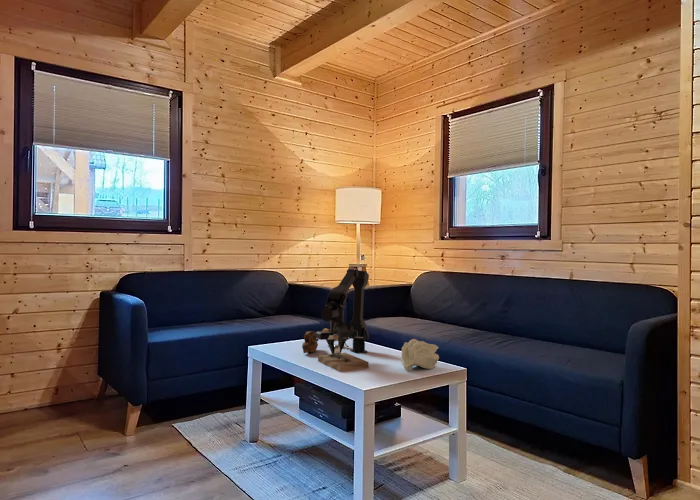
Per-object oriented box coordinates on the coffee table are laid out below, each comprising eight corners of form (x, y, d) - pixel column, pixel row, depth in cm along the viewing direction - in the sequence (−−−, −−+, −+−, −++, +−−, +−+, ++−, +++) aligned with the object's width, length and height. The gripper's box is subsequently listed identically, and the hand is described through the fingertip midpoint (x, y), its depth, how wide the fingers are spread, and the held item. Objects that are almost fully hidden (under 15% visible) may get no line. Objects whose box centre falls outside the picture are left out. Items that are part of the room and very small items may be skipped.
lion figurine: (320, 346, 248) (320, 328, 247) (323, 344, 253) (324, 327, 252) (347, 349, 243) (347, 331, 243) (350, 347, 248) (350, 329, 248)
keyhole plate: (317, 361, 215) (318, 355, 215) (345, 358, 222) (345, 352, 222) (339, 371, 198) (339, 365, 198) (368, 368, 205) (368, 362, 205)
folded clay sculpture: (419, 381, 211) (425, 346, 218) (440, 380, 201) (445, 344, 207) (387, 368, 204) (394, 333, 210) (407, 366, 193) (414, 329, 200)
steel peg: (328, 360, 216) (329, 344, 216) (338, 359, 219) (338, 343, 219) (333, 362, 212) (334, 346, 212) (343, 361, 214) (344, 345, 214)
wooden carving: (310, 356, 225) (311, 334, 225) (301, 355, 226) (301, 334, 226) (319, 349, 241) (320, 329, 241) (311, 348, 242) (311, 328, 242)
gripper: (326, 322, 203) (325, 359, 204) (364, 319, 213) (363, 355, 213) (315, 318, 213) (314, 354, 213) (351, 316, 222) (351, 350, 223)
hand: (336, 353), depth 215 cm, fingers closed on steel peg, 3 cm apart
